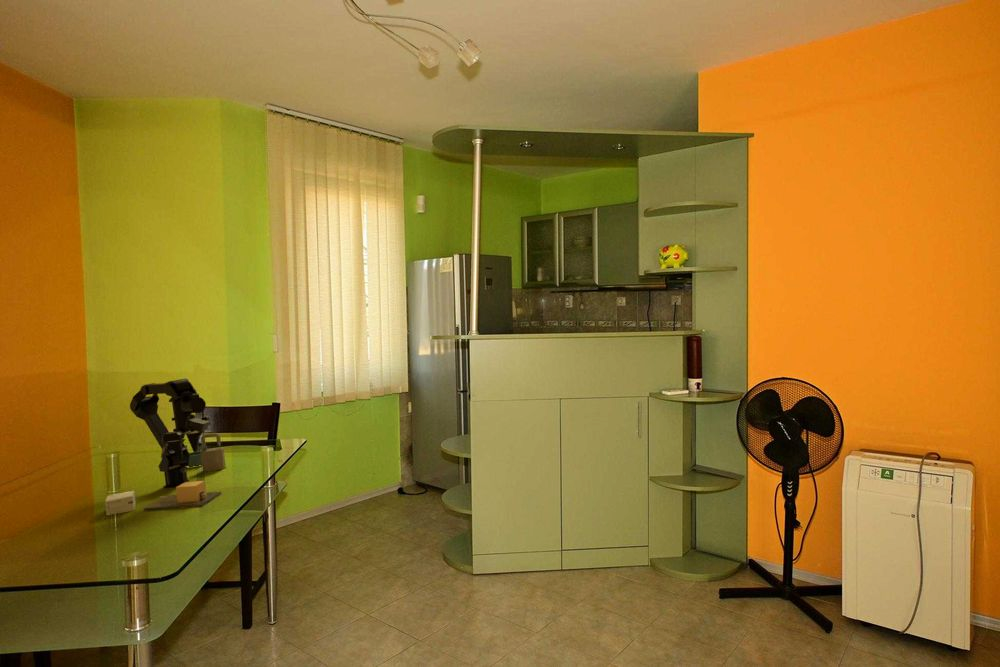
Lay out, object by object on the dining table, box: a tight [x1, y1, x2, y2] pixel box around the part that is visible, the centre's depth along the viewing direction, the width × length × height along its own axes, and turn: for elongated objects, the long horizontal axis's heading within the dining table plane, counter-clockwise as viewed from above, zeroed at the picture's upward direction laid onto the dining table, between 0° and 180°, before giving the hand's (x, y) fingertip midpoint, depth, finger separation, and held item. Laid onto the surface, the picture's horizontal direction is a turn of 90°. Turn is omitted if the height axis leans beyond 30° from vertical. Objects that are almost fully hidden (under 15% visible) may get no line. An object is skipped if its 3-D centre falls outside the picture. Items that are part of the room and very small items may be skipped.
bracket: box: [184, 444, 208, 467], centre depth 246 cm, size 9×9×9 cm
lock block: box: [175, 480, 207, 502], centre depth 195 cm, size 7×5×5 cm
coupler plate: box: [143, 491, 222, 512], centre depth 195 cm, size 20×12×2 cm, turn 88°
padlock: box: [200, 432, 227, 472], centre depth 235 cm, size 4×8×15 cm, turn 98°
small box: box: [104, 490, 136, 516], centre depth 193 cm, size 8×8×5 cm
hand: (188, 454), depth 212 cm, fingers open, 9 cm apart
